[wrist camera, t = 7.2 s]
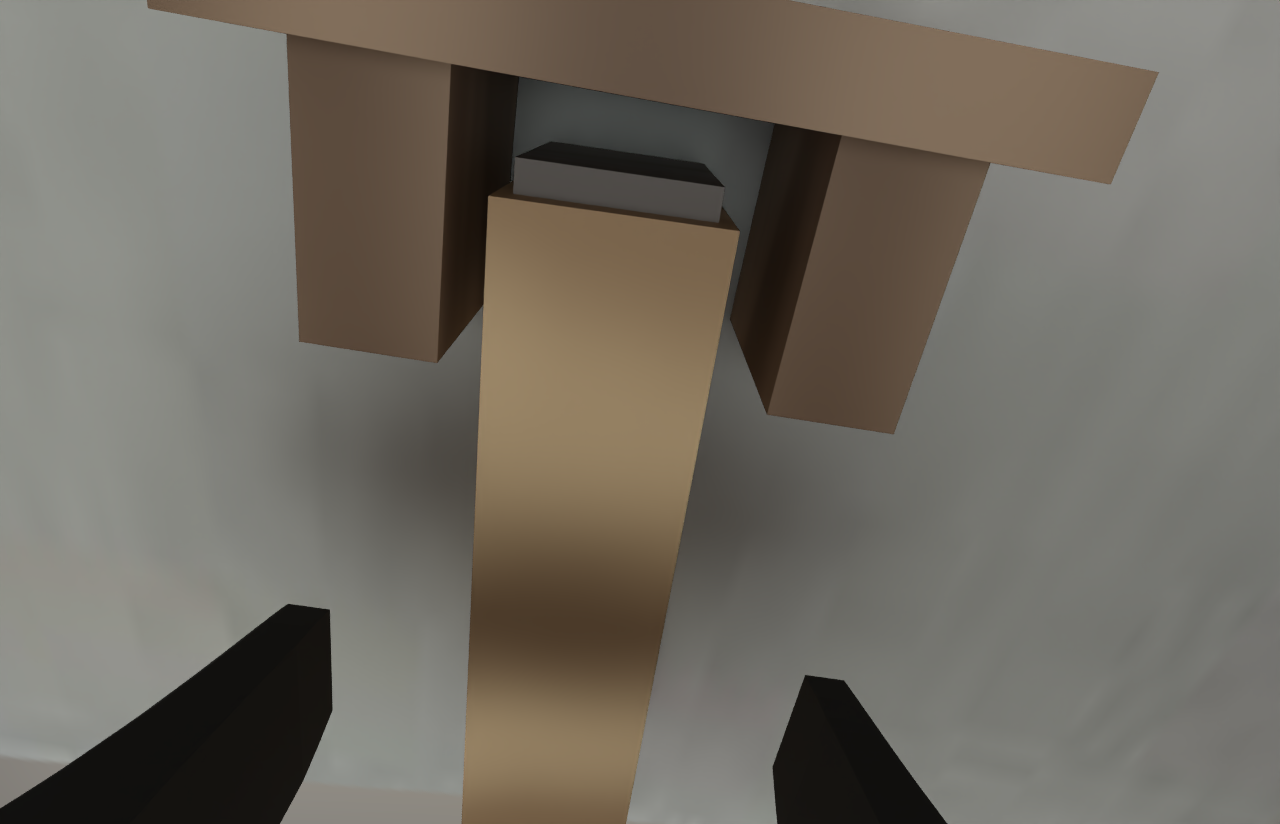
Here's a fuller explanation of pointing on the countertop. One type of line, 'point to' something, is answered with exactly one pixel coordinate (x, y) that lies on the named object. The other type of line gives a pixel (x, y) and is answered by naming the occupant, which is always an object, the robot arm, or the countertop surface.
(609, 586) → the rail
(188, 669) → the countertop surface
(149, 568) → the countertop surface
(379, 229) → the brown wooden stool
